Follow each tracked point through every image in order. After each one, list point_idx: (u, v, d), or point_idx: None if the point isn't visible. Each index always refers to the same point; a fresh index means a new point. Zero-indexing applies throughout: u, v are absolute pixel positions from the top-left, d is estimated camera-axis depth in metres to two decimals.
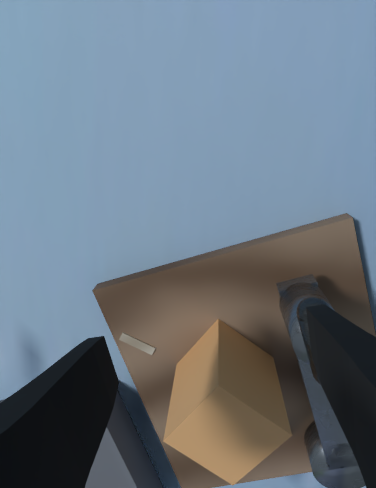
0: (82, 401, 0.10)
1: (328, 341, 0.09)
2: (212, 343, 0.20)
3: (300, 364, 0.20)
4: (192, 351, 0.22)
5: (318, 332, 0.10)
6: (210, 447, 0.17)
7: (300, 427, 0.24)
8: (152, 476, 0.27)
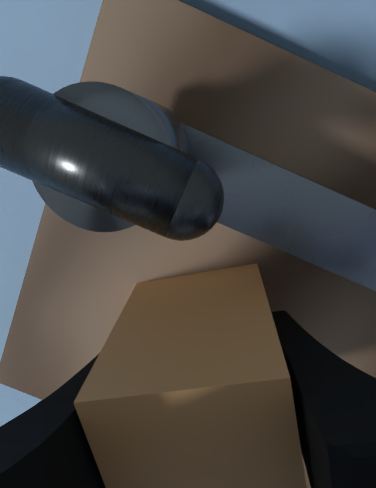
0: None
1: None
2: None
3: (257, 237, 0.10)
4: None
5: None
6: None
7: None
8: None
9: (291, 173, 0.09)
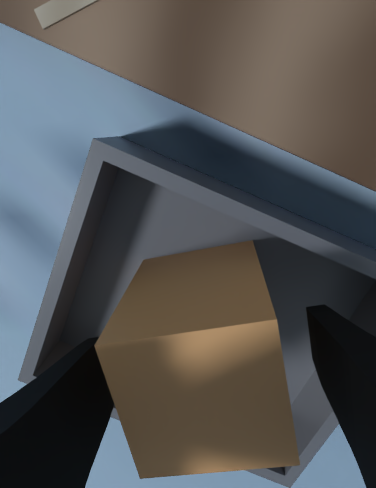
0: (82, 401, 0.10)
1: (328, 341, 0.09)
2: None
3: None
4: None
5: (318, 332, 0.10)
6: (200, 437, 0.09)
7: None
8: (340, 236, 0.13)
9: None
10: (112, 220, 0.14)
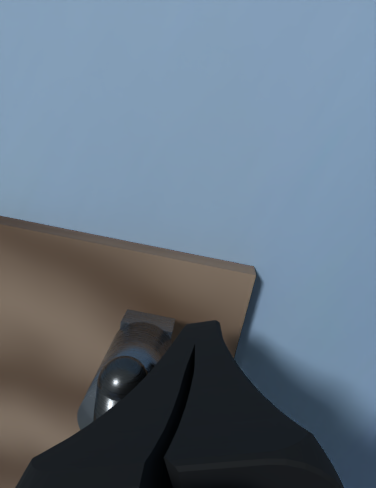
0: None
1: None
2: None
3: None
4: None
5: None
6: None
7: None
8: None
9: None
10: None
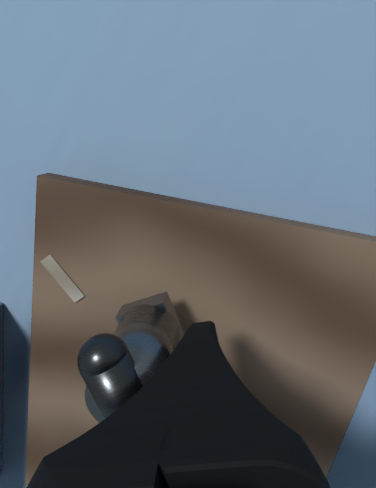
0: None
1: None
2: None
3: None
4: None
5: None
6: None
7: None
8: None
9: None
10: None
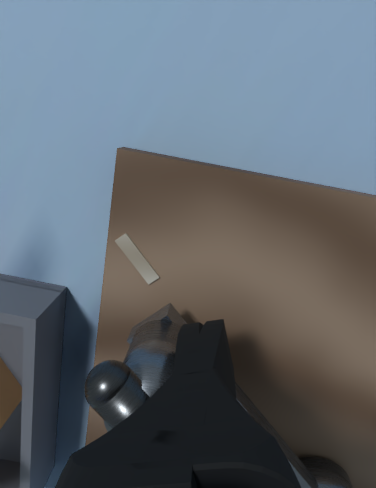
0: (225, 384, 0.10)
1: None
2: None
3: None
4: None
5: None
6: None
7: None
8: (51, 441, 0.19)
9: (239, 402, 0.14)
10: None
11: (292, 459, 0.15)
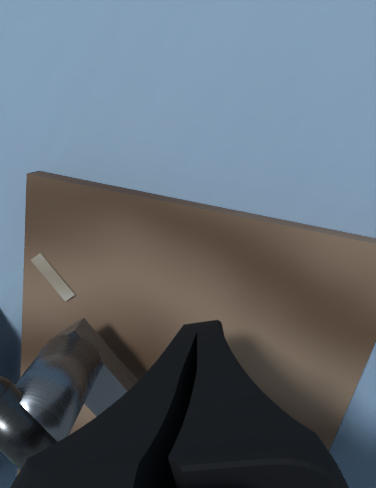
0: None
1: None
2: None
3: None
4: None
5: None
6: None
7: None
8: None
9: None
10: None
11: None
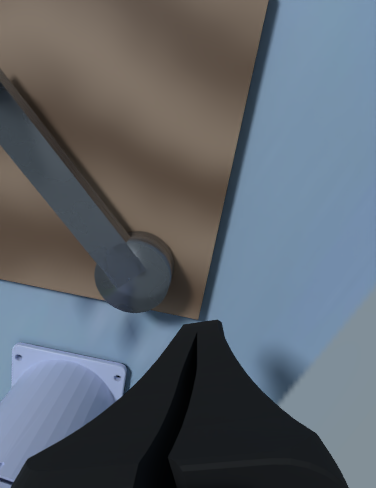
0: None
1: None
2: None
3: (12, 157, 0.17)
4: None
5: None
6: None
7: None
8: None
9: (40, 134, 0.16)
10: None
11: (100, 204, 0.17)
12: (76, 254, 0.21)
